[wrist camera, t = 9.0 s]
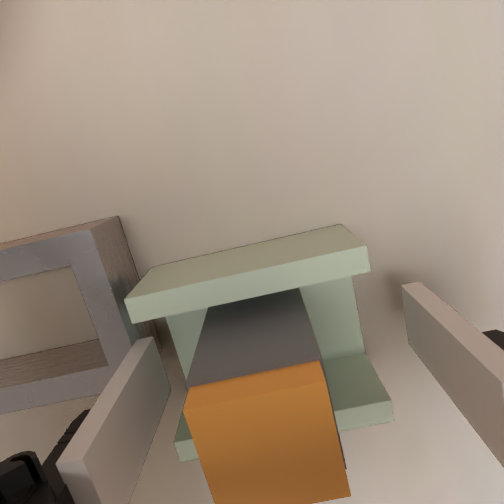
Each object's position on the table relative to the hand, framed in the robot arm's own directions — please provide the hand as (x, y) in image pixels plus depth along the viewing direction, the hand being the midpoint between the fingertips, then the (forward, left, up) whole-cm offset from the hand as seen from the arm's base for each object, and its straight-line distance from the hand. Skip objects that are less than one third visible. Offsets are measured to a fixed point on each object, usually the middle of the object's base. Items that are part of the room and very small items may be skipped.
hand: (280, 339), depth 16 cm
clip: (-11, +3, -2) cm, 12 cm away
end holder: (-1, 0, -2) cm, 3 cm away
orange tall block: (-1, 0, -2) cm, 2 cm away
